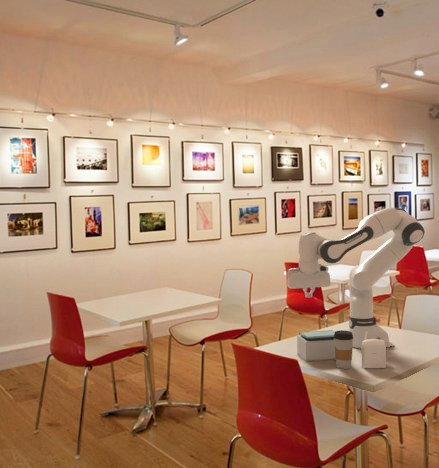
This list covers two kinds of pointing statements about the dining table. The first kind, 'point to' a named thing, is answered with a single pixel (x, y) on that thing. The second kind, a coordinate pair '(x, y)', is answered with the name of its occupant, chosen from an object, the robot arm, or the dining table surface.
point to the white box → (316, 348)
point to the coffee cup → (343, 348)
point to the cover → (318, 334)
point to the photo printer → (373, 353)
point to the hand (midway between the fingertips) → (308, 297)
